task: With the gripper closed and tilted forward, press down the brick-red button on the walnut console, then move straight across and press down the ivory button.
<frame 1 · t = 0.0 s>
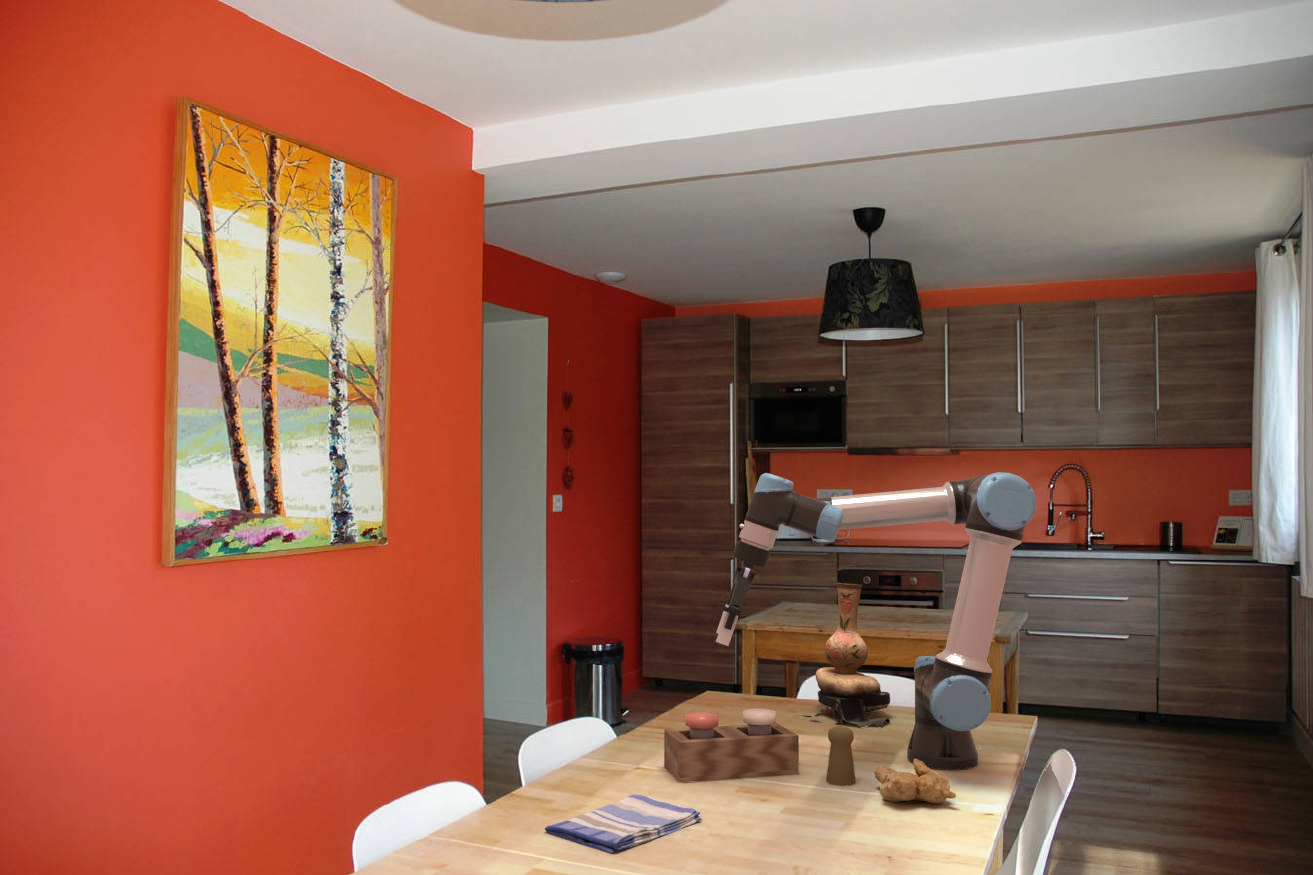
hand: (722, 639, 218), 28 cm above the table, tool tilted 20°, fingers open, 13 cm apart
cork: (840, 782, 210), on the table
ivory button: (759, 728, 219), point 8 cm above the table, slide at 0.0 cm
dish towel: (625, 830, 181), on the table
console: (730, 770, 217), on the table
ginger root: (913, 801, 198), on the table
red button: (701, 731, 216), point 8 cm above the table, slide at 0.0 cm
vase: (849, 717, 271), on the table
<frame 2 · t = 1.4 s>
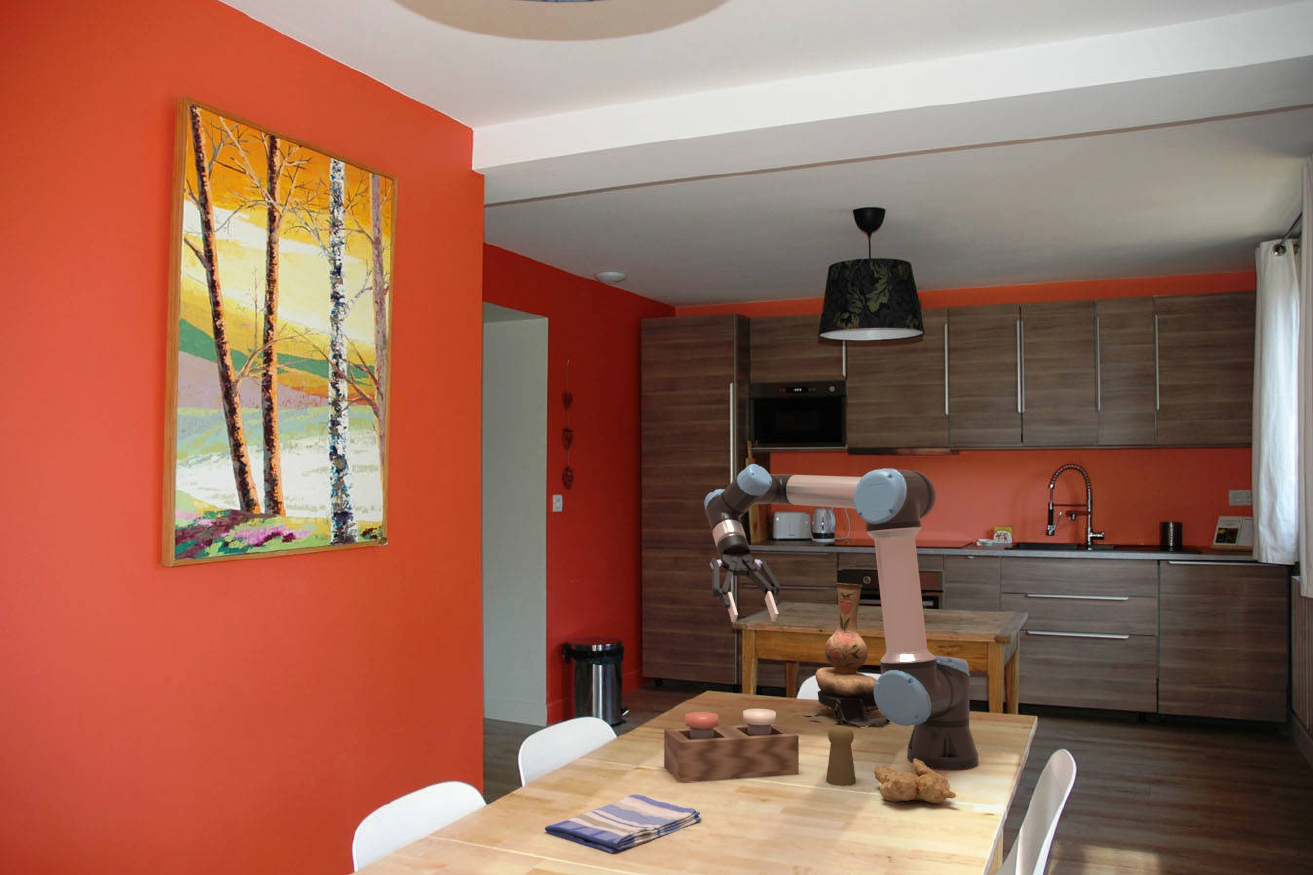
hand: (755, 617, 231), 31 cm above the table, tool tilted 45°, fingers open, 9 cm apart
nothing on the table moved.
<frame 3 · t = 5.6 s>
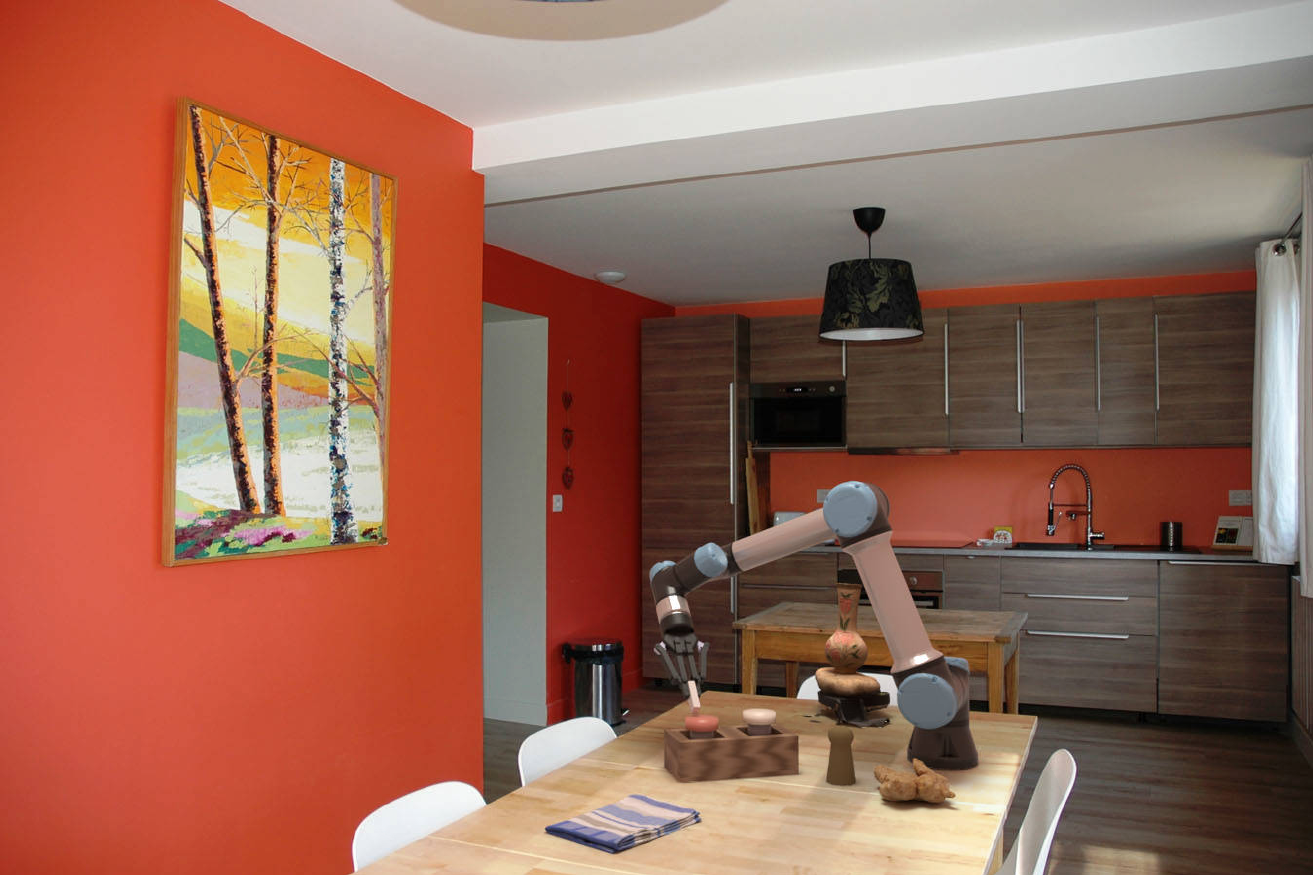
hand: (695, 710, 219), 12 cm above the table, tool tilted 45°, fingers closed
red button: (701, 735, 216), point 8 cm above the table, slide at 0.7 cm, touching gripper
everything else where it was.
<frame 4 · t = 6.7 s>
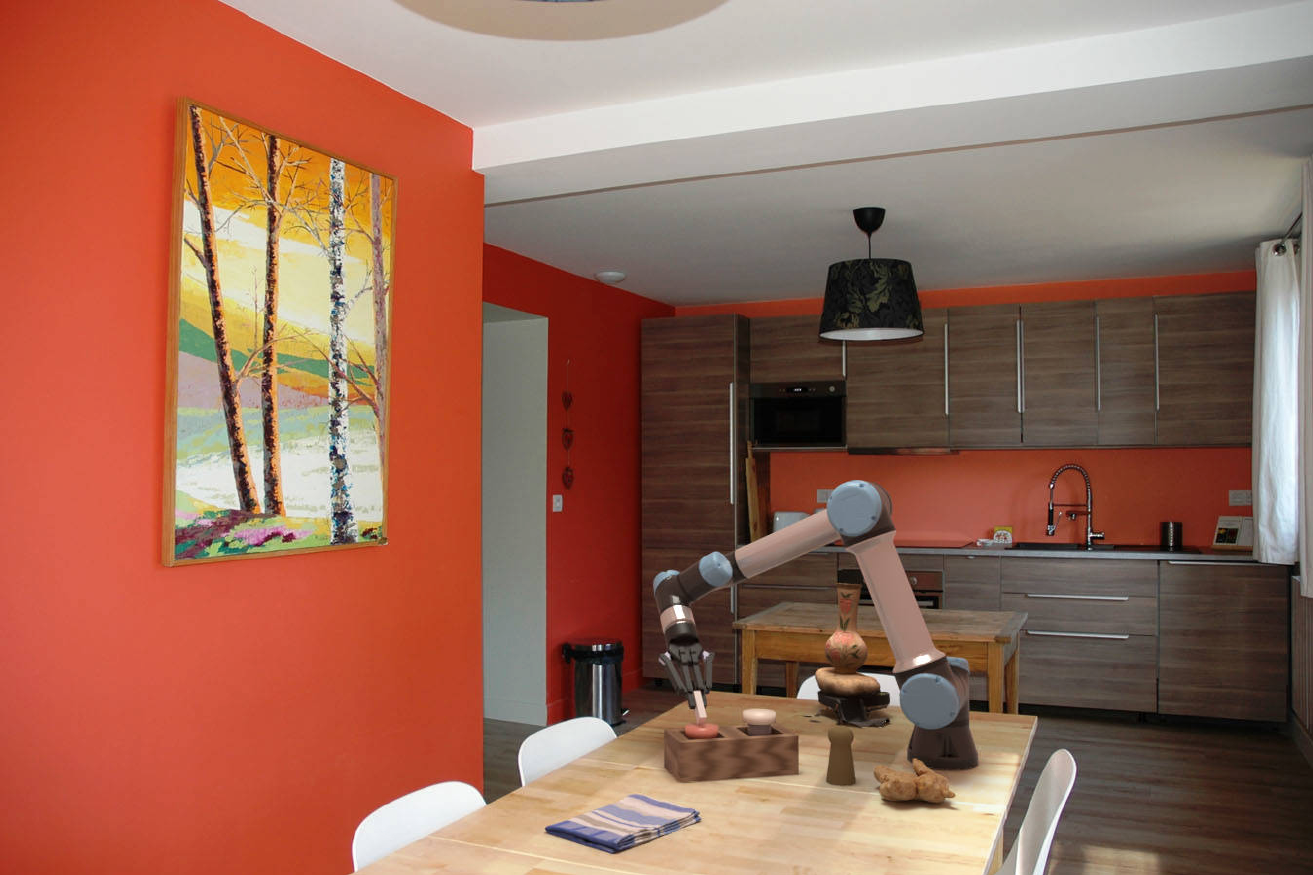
hand: (702, 720, 216), 11 cm above the table, tool tilted 45°, fingers closed
red button: (701, 743, 216), point 6 cm above the table, slide at 2.4 cm, touching gripper
everything else where it was.
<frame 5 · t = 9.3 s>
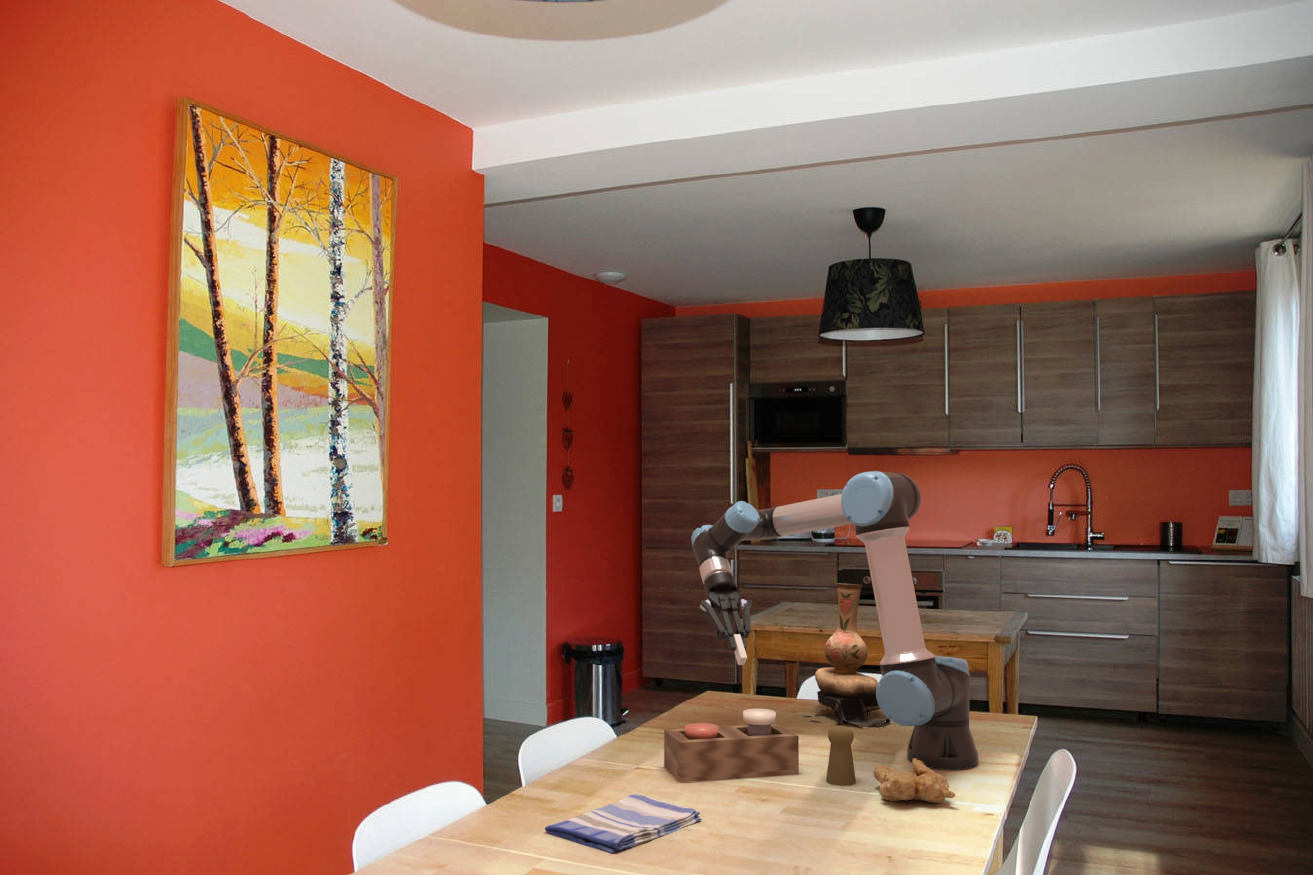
hand: (742, 661, 230), 21 cm above the table, tool tilted 45°, fingers closed
red button: (701, 743, 216), point 6 cm above the table, slide at 2.4 cm
everything else where it was.
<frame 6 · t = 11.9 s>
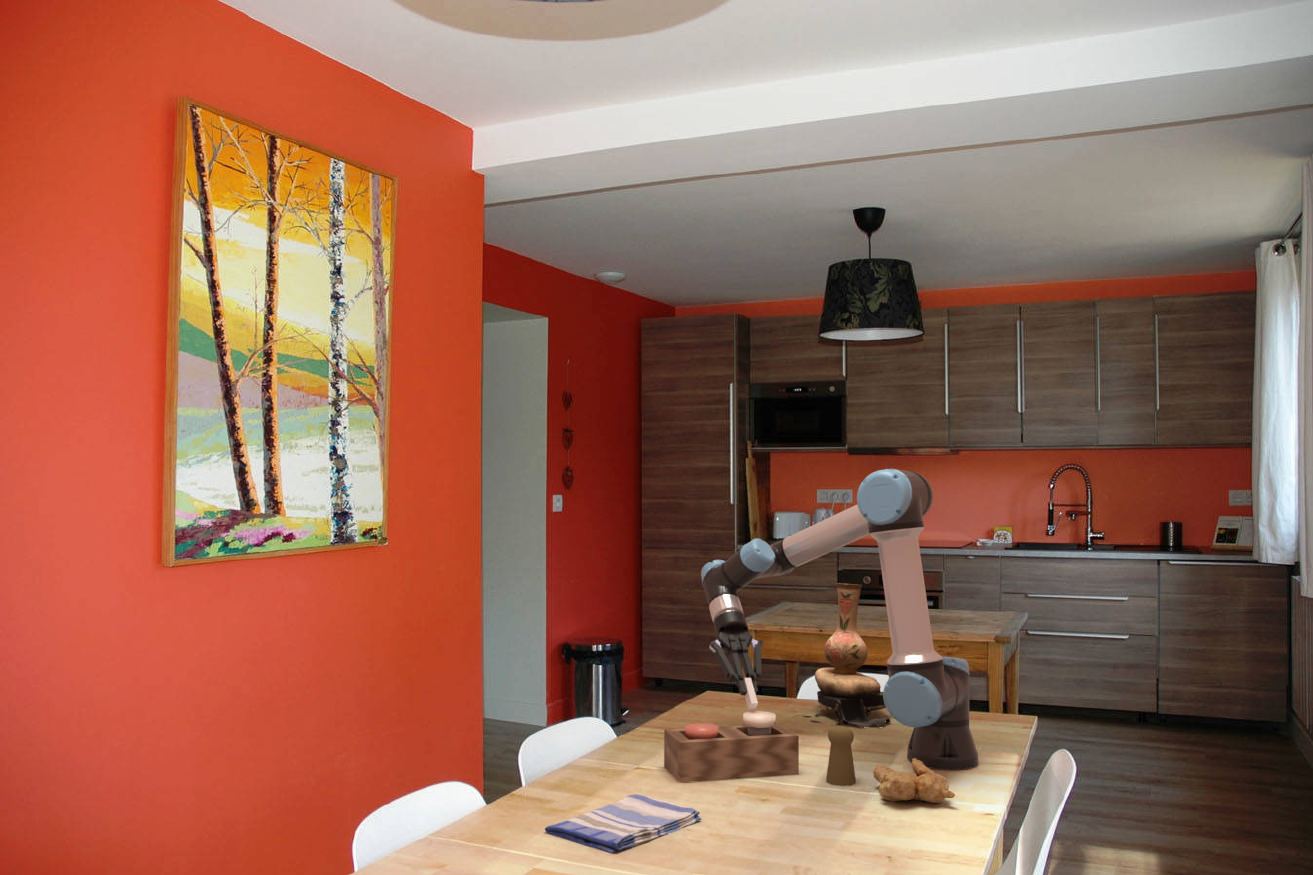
hand: (753, 706, 222), 13 cm above the table, tool tilted 45°, fingers closed
ivory button: (759, 731, 219), point 8 cm above the table, slide at 0.5 cm, touching gripper
everything else where it was.
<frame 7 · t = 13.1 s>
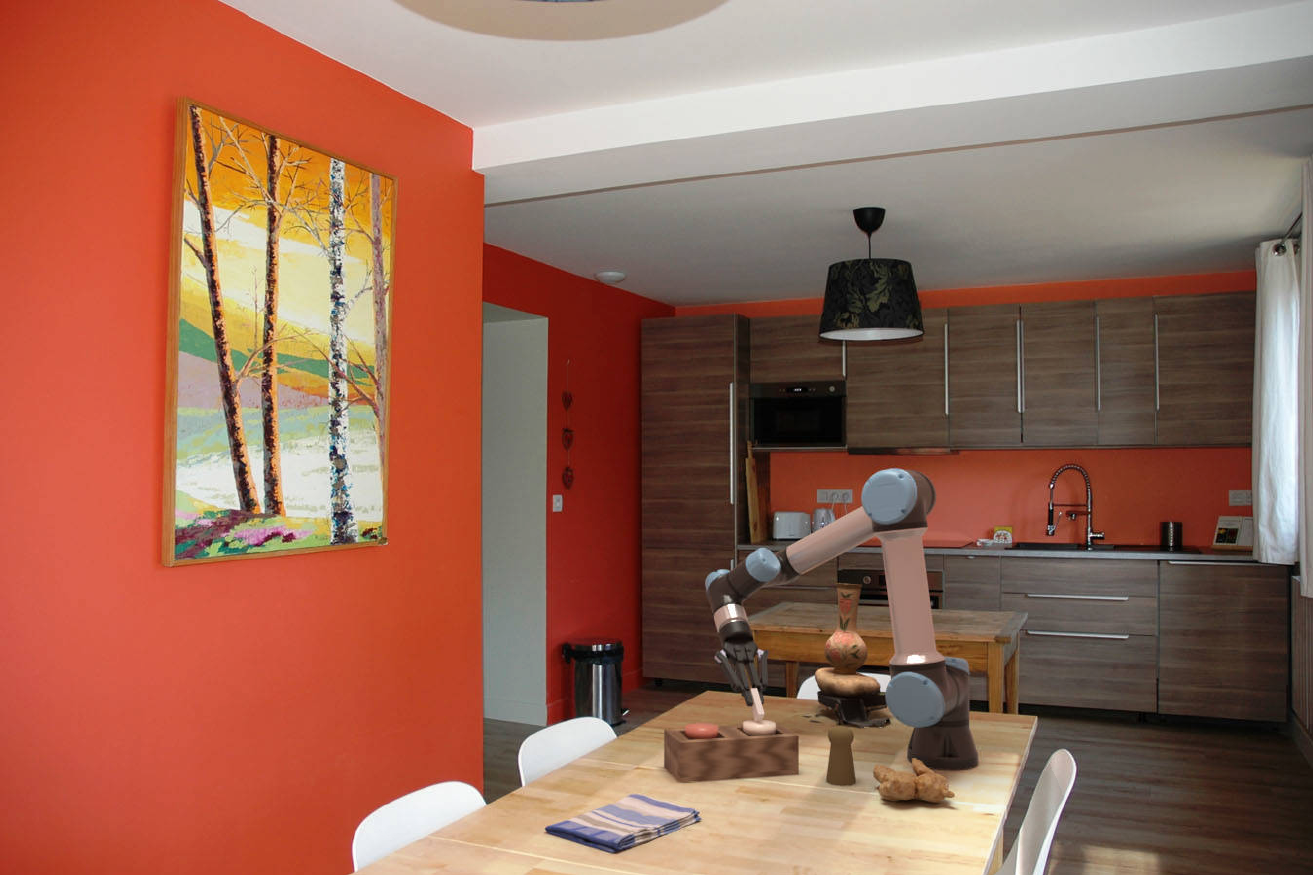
hand: (759, 717, 219), 11 cm above the table, tool tilted 45°, fingers closed
ivory button: (759, 739, 219), point 6 cm above the table, slide at 2.4 cm, touching gripper
everything else where it was.
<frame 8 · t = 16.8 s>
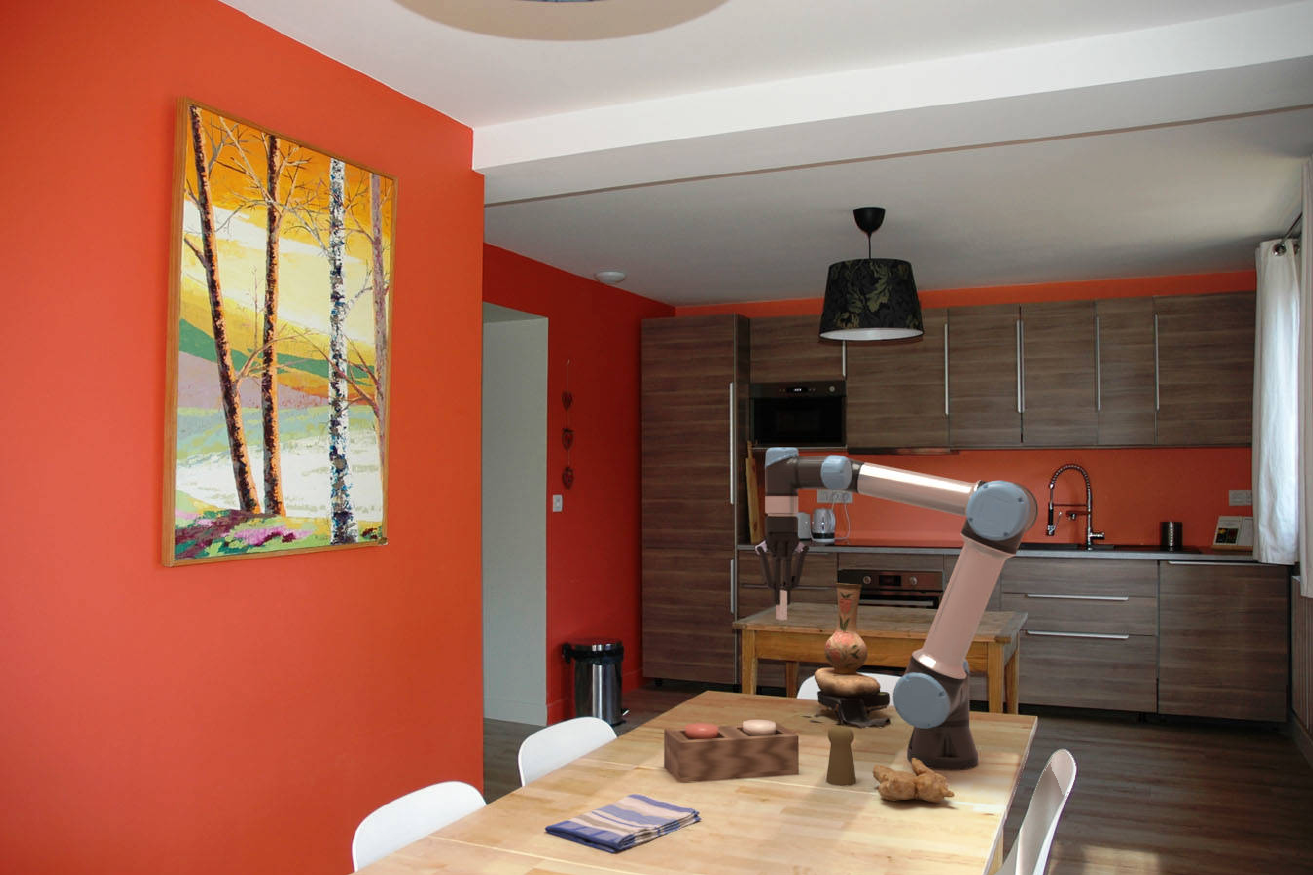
hand: (781, 619, 232), 30 cm above the table, tool pointing down, fingers closed
ivory button: (759, 739, 219), point 6 cm above the table, slide at 2.4 cm
everything else where it was.
at the end: red button slide at 2.4 cm; ivory button slide at 2.4 cm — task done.
